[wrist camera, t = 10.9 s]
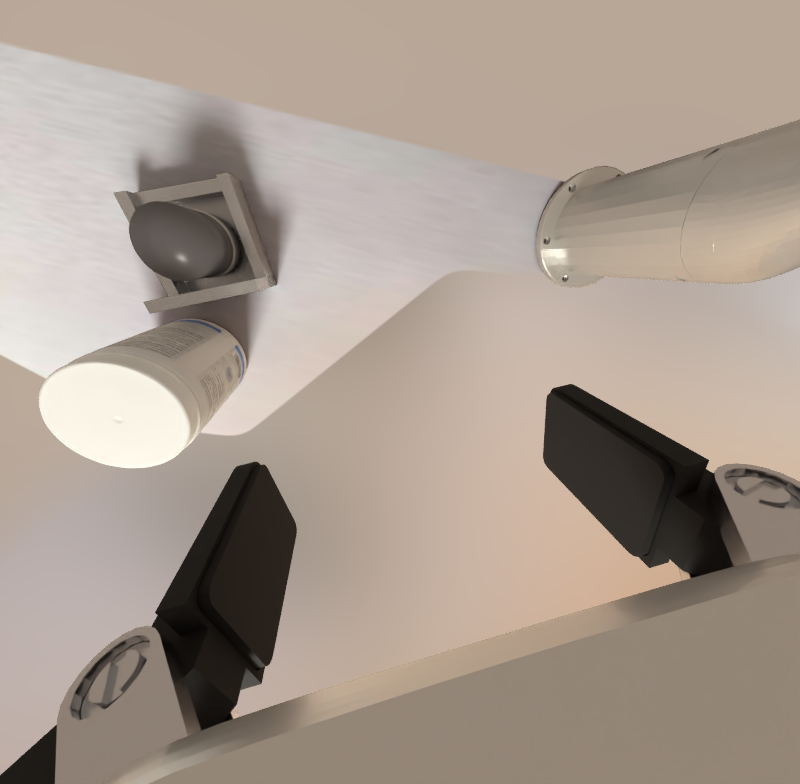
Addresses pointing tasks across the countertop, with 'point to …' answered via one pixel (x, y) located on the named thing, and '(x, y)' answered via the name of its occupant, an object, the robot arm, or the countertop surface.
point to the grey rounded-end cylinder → (183, 242)
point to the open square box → (233, 209)
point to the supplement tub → (143, 393)
